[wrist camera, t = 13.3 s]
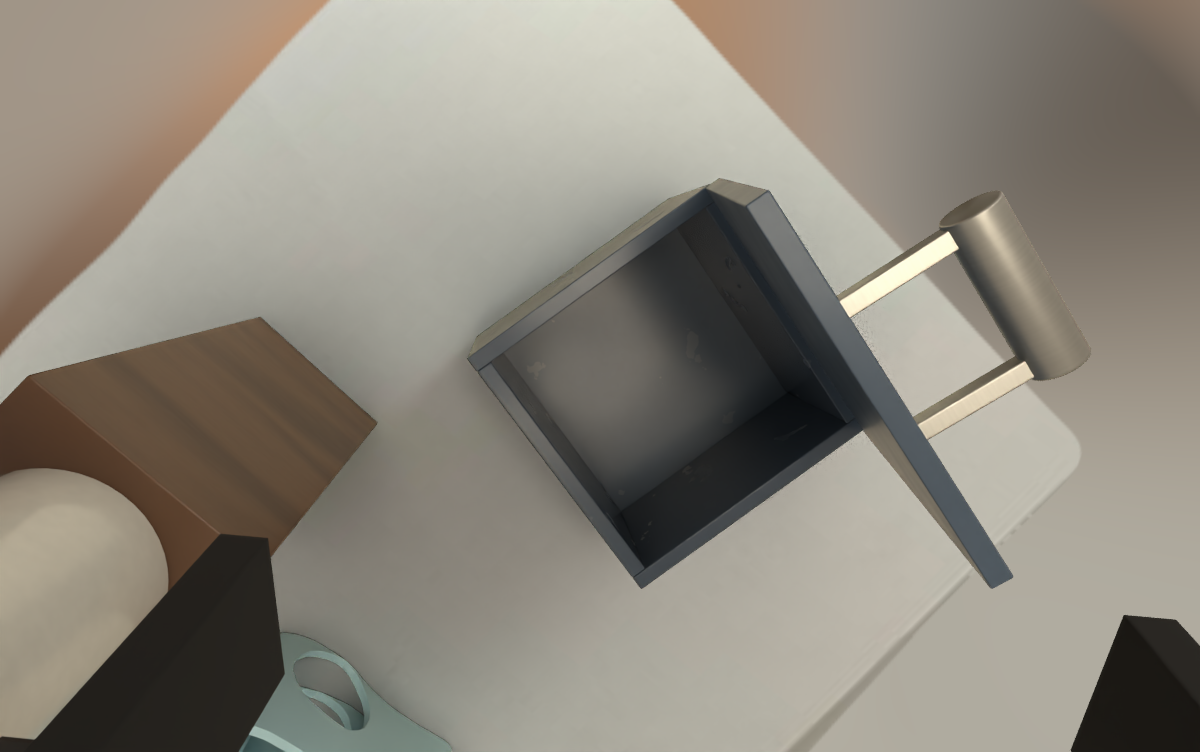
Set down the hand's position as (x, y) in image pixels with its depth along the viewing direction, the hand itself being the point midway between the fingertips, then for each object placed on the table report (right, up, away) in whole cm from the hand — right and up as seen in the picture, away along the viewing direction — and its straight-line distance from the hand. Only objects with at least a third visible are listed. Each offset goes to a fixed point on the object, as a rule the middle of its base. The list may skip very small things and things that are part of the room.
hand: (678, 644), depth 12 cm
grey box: (+1, +5, +36) cm, 36 cm away
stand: (-21, +1, +34) cm, 40 cm away
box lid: (+8, +5, +18) cm, 21 cm away
